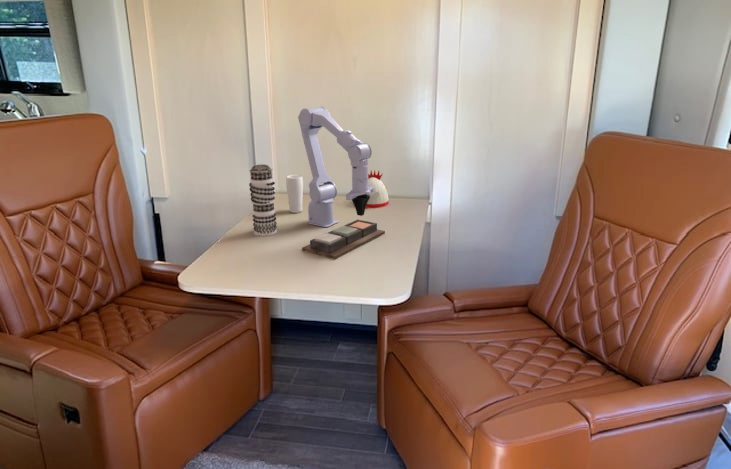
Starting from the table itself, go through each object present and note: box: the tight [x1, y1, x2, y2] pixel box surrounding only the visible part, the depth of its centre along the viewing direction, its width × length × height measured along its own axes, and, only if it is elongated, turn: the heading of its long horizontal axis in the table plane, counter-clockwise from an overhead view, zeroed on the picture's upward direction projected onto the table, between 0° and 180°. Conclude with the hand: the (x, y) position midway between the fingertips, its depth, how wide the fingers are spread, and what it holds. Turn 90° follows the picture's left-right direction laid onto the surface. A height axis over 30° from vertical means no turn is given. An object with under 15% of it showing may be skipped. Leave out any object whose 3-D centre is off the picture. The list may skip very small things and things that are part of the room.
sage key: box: [331, 225, 358, 236], centre depth 183 cm, size 6×6×2 cm
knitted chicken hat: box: [366, 169, 390, 209], centre depth 227 cm, size 14×14×15 cm
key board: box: [301, 219, 386, 260], centre depth 183 cm, size 14×30×4 cm, turn 146°
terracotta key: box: [350, 222, 372, 229], centre depth 190 cm, size 6×6×2 cm
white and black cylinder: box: [248, 164, 278, 237], centre depth 190 cm, size 9×9×25 cm
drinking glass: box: [285, 174, 304, 214], centre depth 216 cm, size 7×7×15 cm
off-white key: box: [314, 232, 342, 244], centre depth 175 cm, size 6×6×2 cm
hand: (360, 215), depth 189 cm, fingers closed
